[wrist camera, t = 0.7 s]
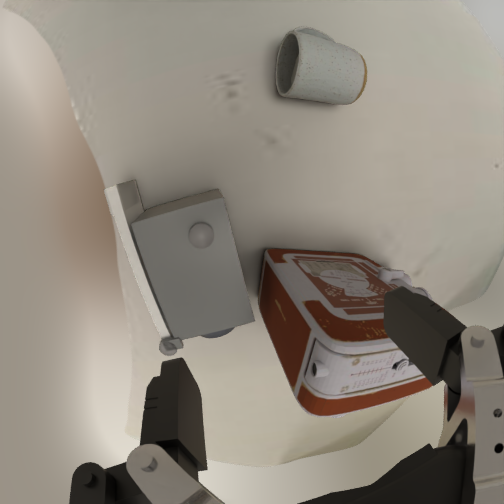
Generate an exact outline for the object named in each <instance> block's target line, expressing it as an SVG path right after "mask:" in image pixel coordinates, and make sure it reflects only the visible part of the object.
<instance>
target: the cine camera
mask: <svg viewBox="0 0 504 504" xmlns="http://www.w3.org/2000/svg"><path fill="white" fill-rule="evenodd" d="M400 286H404V287H406V288H407V289H408V290H410V291H411V292H412V293H418V294H421V295H424V296H427V297H428V298H429V299H431V300H432V297H431V295H430V294H429V293H428V292H427V291H426V290H425V289H424V288H421V287H418V288H415V287H412V282H411V279H410V277H409V276H408V275H407V274H405V273H404V271H402V270H394V269H390V268H387V267H382V266H380V265H379V264H377V263H375V262H374V261H372V260H370V259H368V258H367V257H365V256H363V255H359V254H351V253H336V252H321V251H305V250H290V249H267V250H266V251H265V254H264V258H263V266H262V273H261V280H260V287H259V294H258V305H259V309H260V313H261V315H262V318H263V321H264V323H265V326H266V328H267V331H268V333H269V336H270V338H271V341H272V343H273V346H274V348H275V350H276V353H277V355H278V358H279V360H280V363H281V365H282V368H283V370H284V372H285V375H286V377H287V380H288V382H289V385H290V387H291V389H292V392H293V394H294V396H295V398H296V400H297V401H298V403H299V404H300V406H301V407H302V408H303V409H304V410H305V411H306V412H307V413H308V414H310V415H312V416H316V417H333V418H340V417H343V416H344V415H345V414H347V413H351V412H355V411H360V410H364V409H368V408H372V407H375V406H379V405H383V404H386V403H389V402H393V401H396V400H399V399H402V398H406V397H409V396H412V395H414V394H417V393H420V392H422V391H424V390H427V389H429V388H430V387H431V386H433V385H432V384H431V383H430V381H429V380H428V379H427V378H426V377H425V376H424V375H423V374H422V373H421V371H420V370H419V369H418V368H417V367H416V366H415V365H414V364H413V363H412V362H411V360H410V359H409V358H408V357H407V356H406V355H405V354H404V353H403V352H402V351H401V350H400V349H399V347H398V346H397V345H396V344H395V343H394V342H393V341H392V340H391V339H390V338H389V337H388V335H387V334H386V332H385V329H384V324H383V320H384V296H385V293H386V292H388V291H390V290H393V289H395V288H397V287H400ZM435 304H437V303H435ZM440 307H441V306H440ZM442 309H444V308H442ZM444 310H445V309H444ZM445 311H446V310H445ZM447 312H448V311H447ZM448 313H449V312H448ZM449 314H450V313H449ZM452 316H453V315H452ZM453 317H454V316H453Z"/></svg>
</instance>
